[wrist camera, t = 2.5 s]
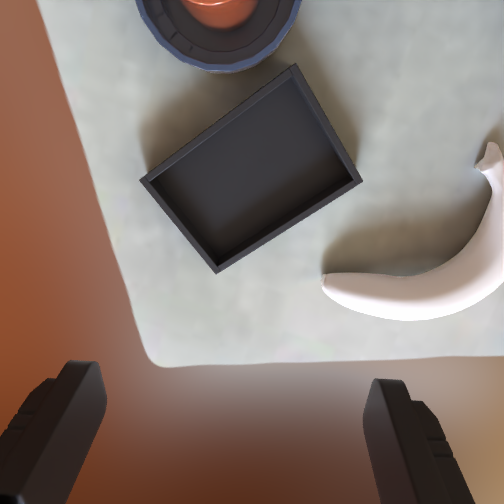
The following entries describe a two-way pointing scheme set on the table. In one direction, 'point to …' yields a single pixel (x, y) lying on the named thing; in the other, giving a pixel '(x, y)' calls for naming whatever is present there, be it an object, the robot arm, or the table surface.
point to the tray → (254, 172)
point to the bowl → (219, 34)
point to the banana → (440, 278)
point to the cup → (221, 13)
